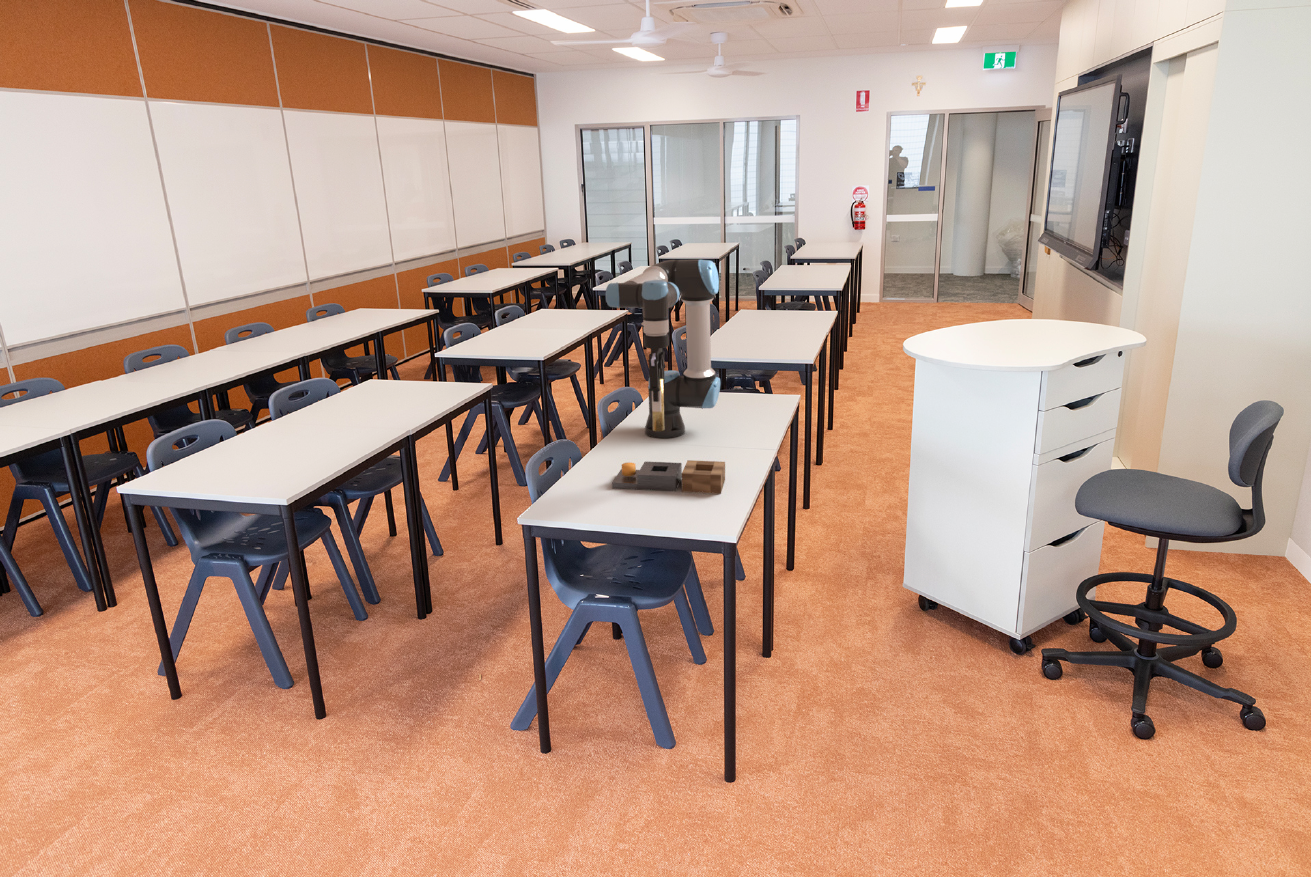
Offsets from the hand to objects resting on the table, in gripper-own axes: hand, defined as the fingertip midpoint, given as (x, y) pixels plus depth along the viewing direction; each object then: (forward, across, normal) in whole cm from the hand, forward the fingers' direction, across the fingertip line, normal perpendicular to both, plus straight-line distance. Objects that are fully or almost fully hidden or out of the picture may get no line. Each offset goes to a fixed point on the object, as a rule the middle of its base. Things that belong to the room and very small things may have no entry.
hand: (658, 409), depth 243 cm
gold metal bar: (+7, 0, 0) cm, 7 cm away
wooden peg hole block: (+24, 0, +14) cm, 28 cm away
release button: (+22, 0, -10) cm, 24 cm away
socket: (+24, 0, -4) cm, 25 cm away
